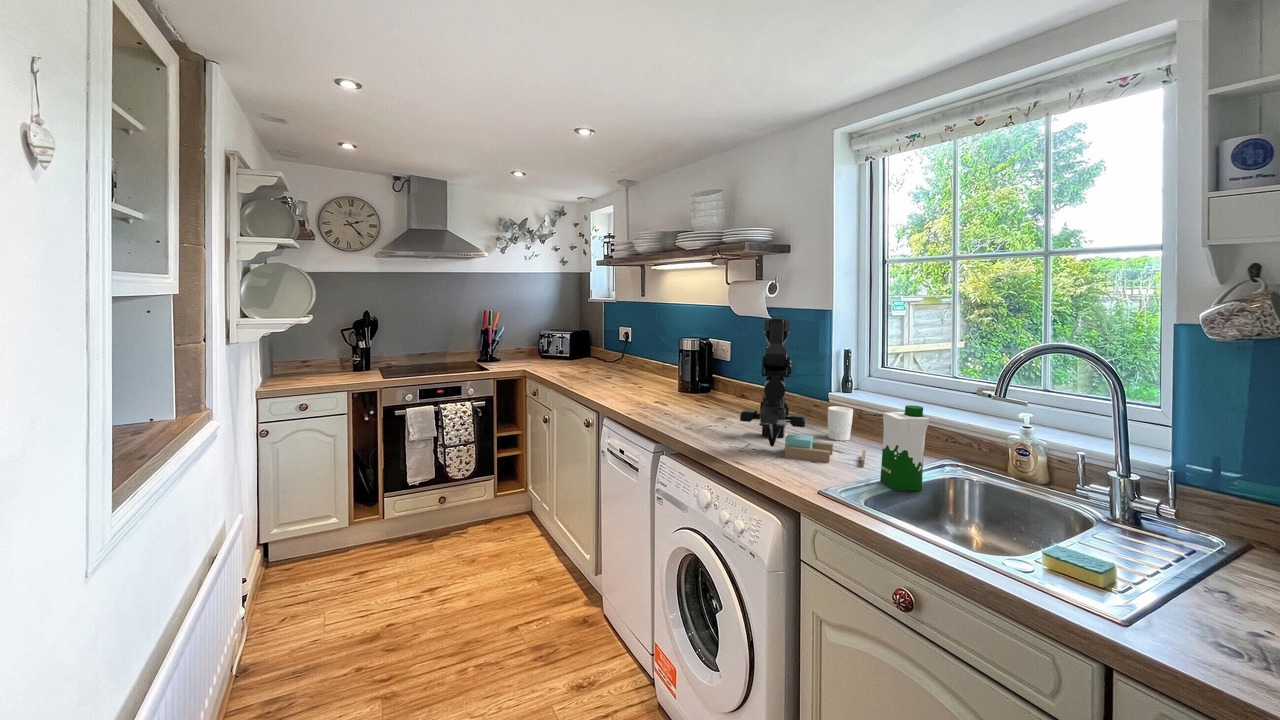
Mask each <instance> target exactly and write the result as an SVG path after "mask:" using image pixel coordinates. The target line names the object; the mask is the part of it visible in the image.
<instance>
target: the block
mask: <svg viewBox="0 0 1280 720" xmlns="http://www.w3.org/2000/svg"><path fill="white" fill-rule="evenodd" d="M784 438H785V439H784V440H785V441H784V448H785V447H786V446H793V447H802V448H810V449H812V447H813V441H814V436H813V435H805V434H795V433H788V434H787V435H786V436H785V437H784Z"/></svg>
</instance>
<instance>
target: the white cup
mask: <svg viewBox="0 0 1280 720" xmlns="http://www.w3.org/2000/svg"><path fill="white" fill-rule="evenodd" d="M853 415H854V408H851V407H847V406H838V405H837V406H834V405H833V406H828V407H827V437H828V438H829V439H830V440H833V439H834V441H839V440H840V441H839V442H844V441H845V440H846V441H849V440H850V439H851V431H852V424H853Z"/></svg>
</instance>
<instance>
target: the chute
mask: <svg viewBox="0 0 1280 720" xmlns="http://www.w3.org/2000/svg"><path fill="white" fill-rule="evenodd" d="M833 451H834V443H833V442H832V443H831V442H826V441H825V442H823V441H815V440H813V447H812V449H810V448H802V447H793V446H786V447H785V446H784V458H787V459H794V460H800V461H801V460H803V461H809V462H810V461H811V462H819V463H826V464H827V463H828V464H830V462H831V460H830V459H831V456H832V455H833V453H834V452H833ZM865 462H866V450H864V449H863V450H862V452H861V457H860V467H861V468H864V467H865Z"/></svg>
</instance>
